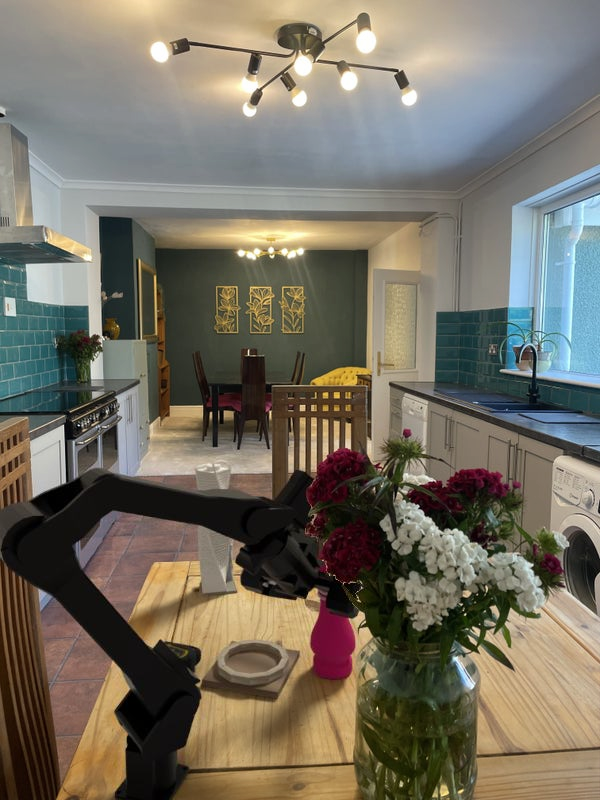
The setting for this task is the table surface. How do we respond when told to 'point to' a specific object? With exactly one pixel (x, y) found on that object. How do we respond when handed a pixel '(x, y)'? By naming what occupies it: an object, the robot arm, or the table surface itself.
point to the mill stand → (252, 668)
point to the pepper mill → (331, 641)
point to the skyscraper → (215, 538)
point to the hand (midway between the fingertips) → (322, 604)
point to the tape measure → (186, 654)
